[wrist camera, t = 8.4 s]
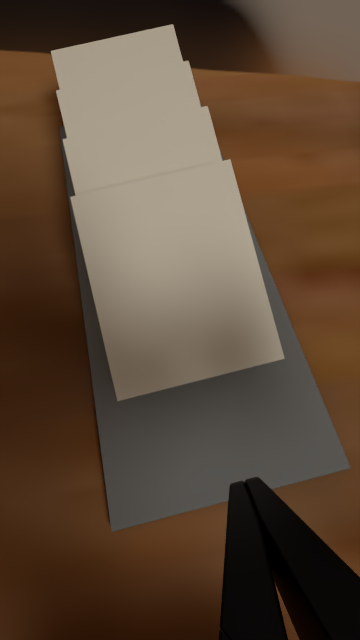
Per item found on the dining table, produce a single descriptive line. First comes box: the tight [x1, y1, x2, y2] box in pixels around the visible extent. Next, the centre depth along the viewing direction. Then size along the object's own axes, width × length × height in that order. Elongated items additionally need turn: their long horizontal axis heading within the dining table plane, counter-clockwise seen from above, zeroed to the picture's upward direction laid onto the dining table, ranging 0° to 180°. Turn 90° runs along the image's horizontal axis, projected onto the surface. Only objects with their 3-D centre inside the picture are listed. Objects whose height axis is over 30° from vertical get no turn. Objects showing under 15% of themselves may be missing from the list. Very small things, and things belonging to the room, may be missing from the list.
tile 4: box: [51, 25, 183, 89], centre depth 24 cm, size 2×10×12 cm
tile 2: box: [62, 106, 222, 195], centre depth 21 cm, size 2×10×12 cm
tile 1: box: [70, 159, 285, 401], centre depth 19 cm, size 2×10×12 cm
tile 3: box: [56, 61, 201, 138], centre depth 23 cm, size 2×10×12 cm
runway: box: [59, 101, 351, 532], centre depth 23 cm, size 32×13×1 cm, turn 14°
